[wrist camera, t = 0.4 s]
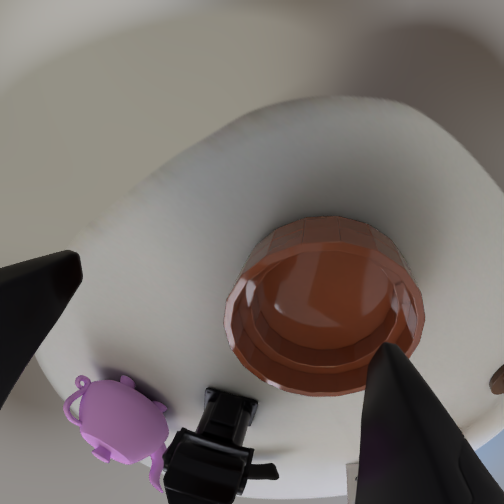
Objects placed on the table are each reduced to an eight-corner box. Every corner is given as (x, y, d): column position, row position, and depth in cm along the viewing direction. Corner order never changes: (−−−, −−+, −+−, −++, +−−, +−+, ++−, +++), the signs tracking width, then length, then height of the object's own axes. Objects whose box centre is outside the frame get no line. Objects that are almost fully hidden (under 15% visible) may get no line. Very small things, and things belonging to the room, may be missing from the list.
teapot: (213, 429, 38) (187, 498, 27) (166, 438, 44) (141, 491, 33) (106, 344, 34) (54, 412, 23) (79, 370, 40) (41, 421, 29)
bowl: (370, 366, 26) (373, 406, 22) (232, 336, 28) (217, 374, 23) (434, 240, 19) (458, 272, 15) (255, 193, 21) (237, 216, 17)
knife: (174, 455, 48) (166, 473, 44) (169, 451, 48) (160, 469, 43) (284, 457, 39) (279, 483, 34) (280, 453, 38) (274, 479, 34)
